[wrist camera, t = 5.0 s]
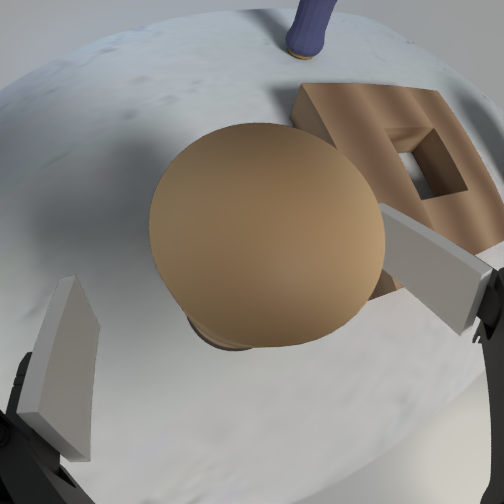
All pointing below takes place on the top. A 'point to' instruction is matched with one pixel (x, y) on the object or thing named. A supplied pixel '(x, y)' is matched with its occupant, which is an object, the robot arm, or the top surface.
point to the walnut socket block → (407, 140)
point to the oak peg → (266, 236)
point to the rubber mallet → (309, 28)
